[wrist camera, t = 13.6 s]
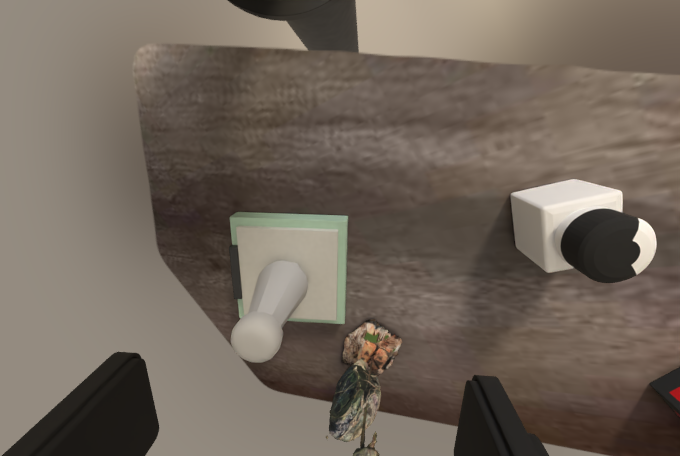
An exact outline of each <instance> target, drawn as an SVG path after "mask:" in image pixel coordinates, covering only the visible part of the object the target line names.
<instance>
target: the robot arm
mask: <svg viewBox="0 0 680 456" xmlns="http://www.w3.org/2000/svg"><path fill="white" fill-rule="evenodd" d="M158 432H159V423H158V419H157V414H156V410H155V405H154V401H153V396H152V391H151V387H150V382H149V378H148V373H147V368H146V364H145V361H144V360H143V359H141V356H140V355H139V354H137V353H126V352H117V353H114V354H113V355H111V356H110V357H109V358H108V359H107V360H106V361H105V362H104V363H103V364H101V365H100V366H99V367H98V368H97V369H96V370H95V371H94V372H93V373H92V374H91V375H89V376H88V377H87V379H85V380H84V381H83V382H82V383H81V384H80V385H79V386H77V387H76V388H75V389H74V390H73V391H72V392H71V393H70V394H69V395H68V396H67V397H66V398H64V399H63V400H62V401H61V402H60V403H59V404H58V405H57V406H56V407H55V408H53V409H52V410H51V411H50V412H49V413H48V414H47V415H46V416H45V417H44V418H42V419H41V420H40V421H39V422H38V423H37V424H36V425H35V426H34V427H33V428H32V429H30V430H29V431H28V432H27V433H26V434H25V435H24V436H23V437H22V438H21V439H20V440H19V441H17V442H16V443H15V444H14V445H13V446H12V447H11V448H10V449H9V450H8V451H6V452H5V453H4V454H3V455H2V456H145V455H146V453H147V452H148V450H149V449H150V447H151V446H152V444H153V443H154V441H155V439H156V437H157V435H158ZM454 456H549V455H548V453H547V451H546V449H545V448H544V446H543V444H542V443H541V441H540V440H539V438H538V437H537V436H535V435H534V434H531V433H527V432H526V430H525V428H524V426H523V424H522V422H521V420H520V418H519V416H518V415H517V413H516V411H515V409H514V407H513V405H512V403H511V401H510V400H509V398H508V396H507V394H506V392H505V390H504V388H503V386H502V384H501V383H500V381H499V379H498V378H497V377H494V376H479V375H474V376H473V379H472V381H467V382H466V385H465V391H464V396H463V402H462V408H461V413H460V419H459V424H458V430H457V436H456V441H455V447H454Z"/></svg>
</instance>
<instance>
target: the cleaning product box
mask: <svg viewBox="0 0 680 456" xmlns="http://www.w3.org/2000/svg"><path fill="white" fill-rule="evenodd" d="M650 385H651V386H652V387H653V388H654V389H655V390H656V392H657V393H658V394H659V395H660V396H661V397H662V398H663V400H664V401H665V402H666V403H667V404H668V405H669V406H670V408H671V409H672V410H673V411H674V412H675V413H676V414H677V415H678V417H679V418H680V368H678V369H676V370H674V371H672V372H670V373H668V374H666V375H665V376H663V377H661V378H659V379H657V380H655V381H653V382H652V383H650Z"/></svg>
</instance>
